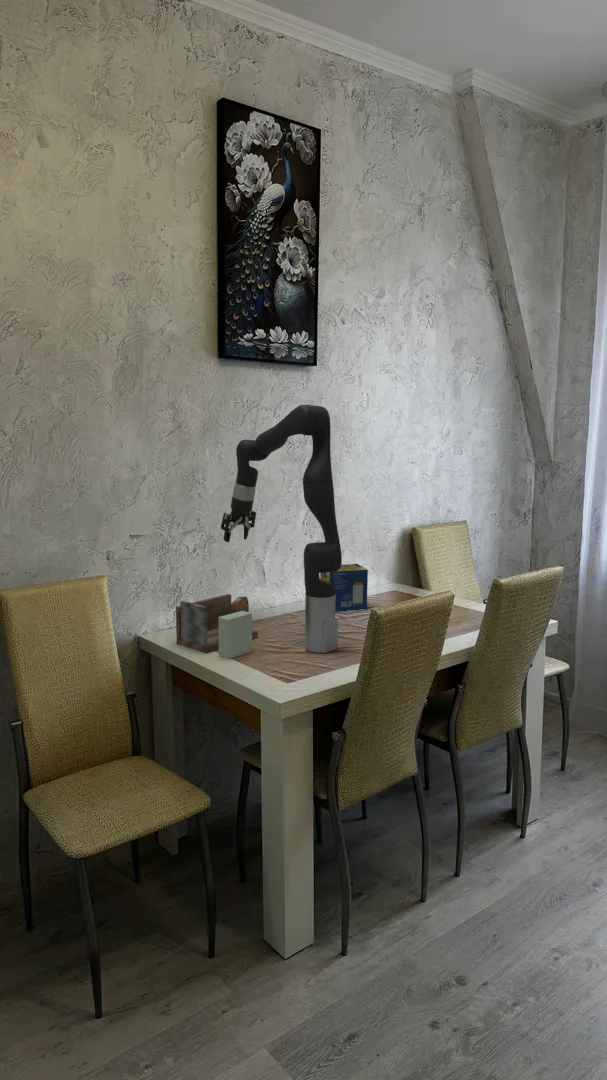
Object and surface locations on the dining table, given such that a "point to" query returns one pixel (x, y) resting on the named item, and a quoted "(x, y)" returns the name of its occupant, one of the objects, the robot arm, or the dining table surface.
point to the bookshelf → (202, 623)
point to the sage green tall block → (235, 634)
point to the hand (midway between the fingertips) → (235, 540)
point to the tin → (240, 605)
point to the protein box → (349, 586)
